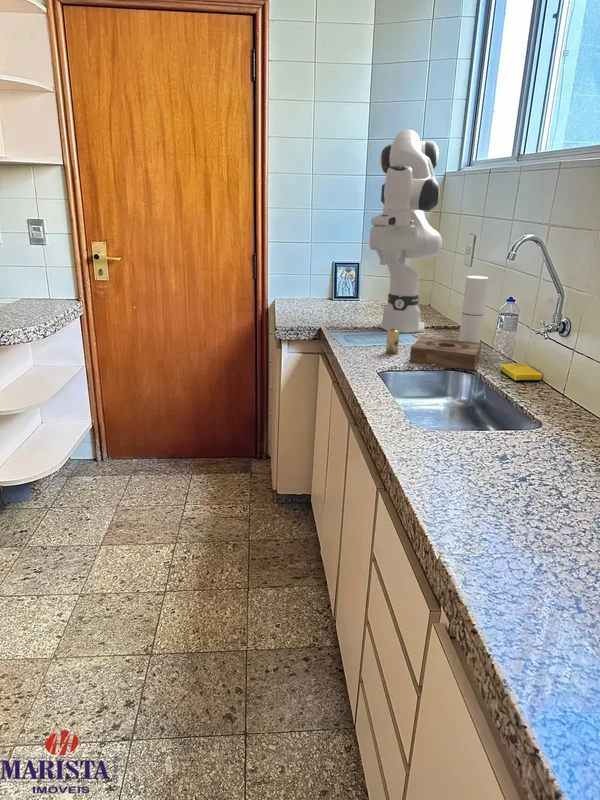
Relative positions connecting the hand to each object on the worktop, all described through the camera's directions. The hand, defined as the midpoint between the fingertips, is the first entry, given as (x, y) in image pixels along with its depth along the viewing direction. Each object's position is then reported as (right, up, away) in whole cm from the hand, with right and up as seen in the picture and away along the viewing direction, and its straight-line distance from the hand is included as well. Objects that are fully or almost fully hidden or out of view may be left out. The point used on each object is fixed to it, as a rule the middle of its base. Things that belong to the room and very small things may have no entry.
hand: (392, 264), depth 181 cm
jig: (+17, -31, +1) cm, 36 cm away
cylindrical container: (+30, -26, +16) cm, 42 cm away
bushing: (+1, -29, +7) cm, 30 cm away
